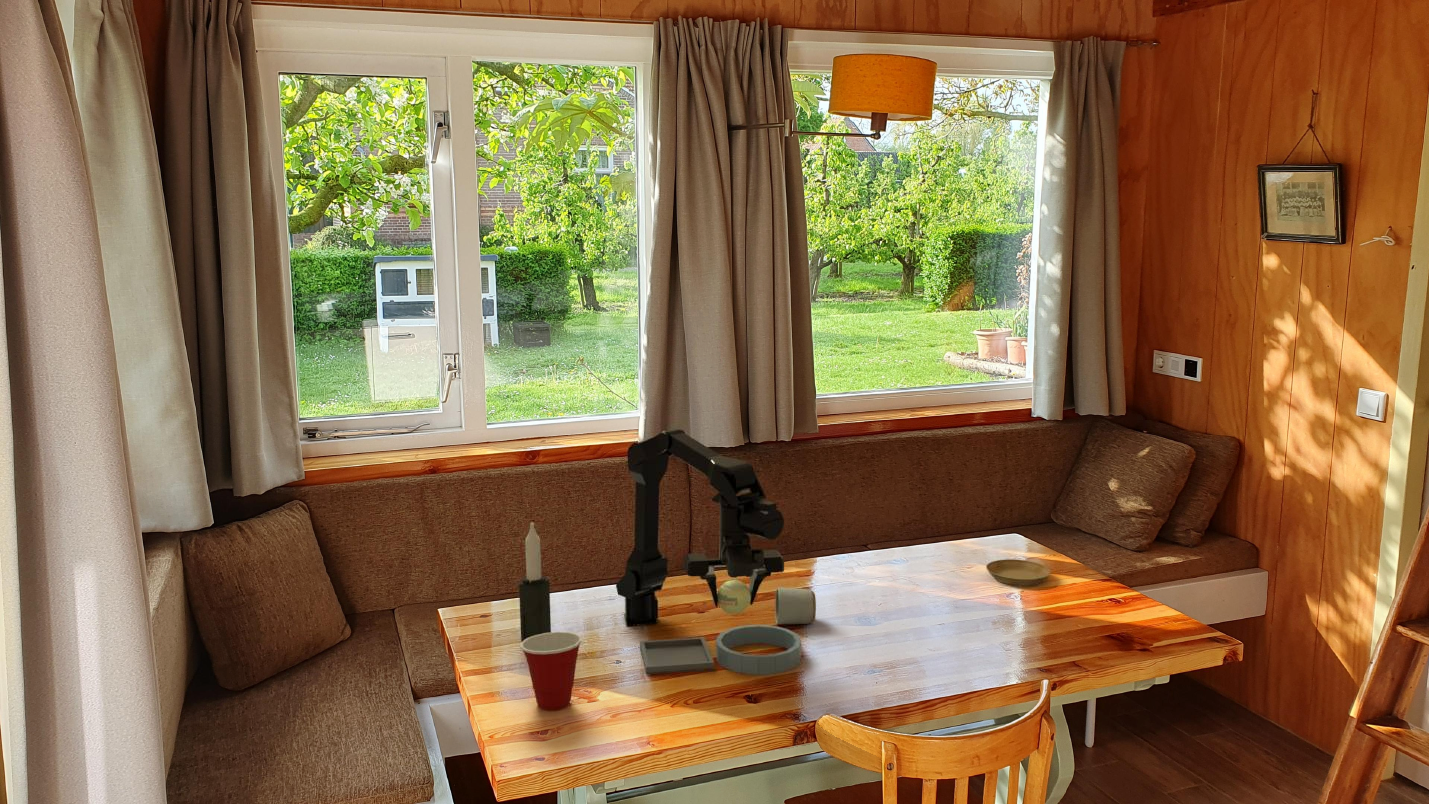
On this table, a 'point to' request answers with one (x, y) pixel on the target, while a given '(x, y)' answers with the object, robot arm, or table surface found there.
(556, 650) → the plastic cup
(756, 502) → the robot arm
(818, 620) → the table surface
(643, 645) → the tray
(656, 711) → the table surface
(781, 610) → the ceramic mug
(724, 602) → the tennis ball
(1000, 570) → the plant saucer
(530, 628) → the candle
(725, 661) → the gray open ring
